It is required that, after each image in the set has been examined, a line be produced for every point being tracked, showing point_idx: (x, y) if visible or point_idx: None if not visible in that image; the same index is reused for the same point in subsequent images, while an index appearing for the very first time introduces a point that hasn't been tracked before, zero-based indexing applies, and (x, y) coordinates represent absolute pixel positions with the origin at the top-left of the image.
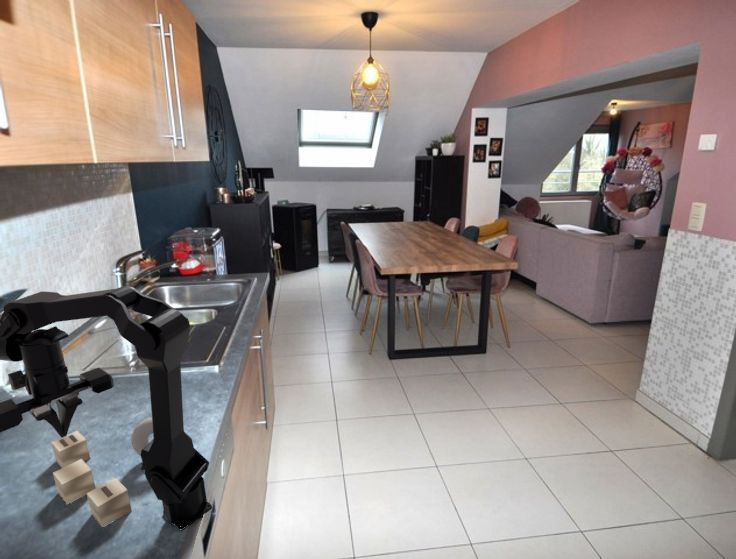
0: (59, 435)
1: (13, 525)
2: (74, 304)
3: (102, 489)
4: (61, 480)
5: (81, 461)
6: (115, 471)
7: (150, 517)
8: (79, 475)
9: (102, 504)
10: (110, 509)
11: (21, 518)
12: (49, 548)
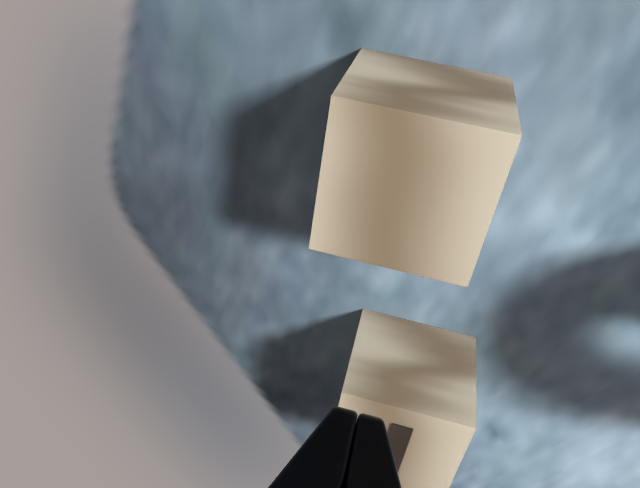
0: (329, 414)
1: (148, 73)
2: None
3: (390, 434)
4: (323, 216)
5: (500, 162)
6: (623, 180)
7: None
8: (402, 267)
9: None
10: None
11: (182, 60)
12: (205, 303)
